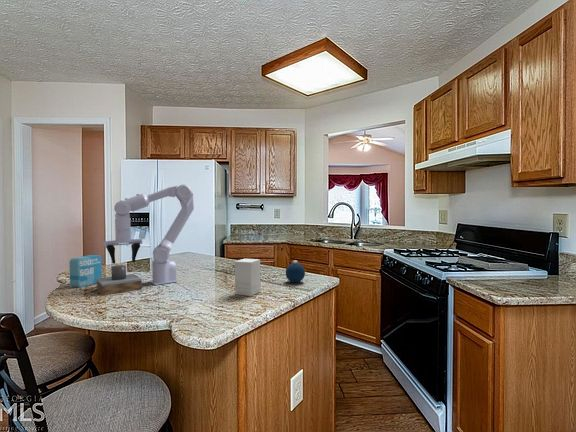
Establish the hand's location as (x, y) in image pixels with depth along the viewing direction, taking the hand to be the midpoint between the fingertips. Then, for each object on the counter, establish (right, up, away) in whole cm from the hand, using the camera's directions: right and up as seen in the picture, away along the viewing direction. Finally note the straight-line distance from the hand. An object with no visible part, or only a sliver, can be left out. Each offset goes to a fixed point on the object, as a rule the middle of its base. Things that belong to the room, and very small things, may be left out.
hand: (123, 262), depth 141 cm
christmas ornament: (+72, -10, +5) cm, 73 cm away
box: (+1, -10, -5) cm, 11 cm away
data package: (-17, -10, +3) cm, 20 cm away
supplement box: (+53, -10, -12) cm, 56 cm away
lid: (+1, -7, -5) cm, 9 cm away
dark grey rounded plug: (+1, -6, -6) cm, 8 cm away
